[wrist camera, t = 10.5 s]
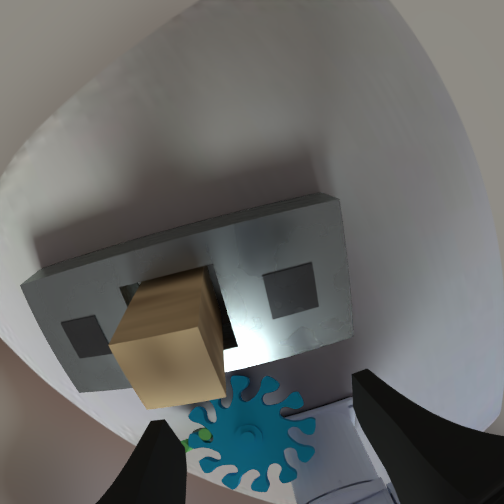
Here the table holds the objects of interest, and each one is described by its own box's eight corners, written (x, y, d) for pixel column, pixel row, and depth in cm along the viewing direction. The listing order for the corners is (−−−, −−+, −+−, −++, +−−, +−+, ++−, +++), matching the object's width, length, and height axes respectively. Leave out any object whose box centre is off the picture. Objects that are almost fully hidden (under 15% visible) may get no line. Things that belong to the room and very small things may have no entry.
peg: (221, 312, 20) (226, 396, 12) (166, 325, 20) (147, 409, 12) (204, 258, 18) (197, 326, 11) (146, 273, 18) (108, 345, 11)
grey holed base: (337, 314, 21) (354, 337, 18) (90, 368, 20) (78, 393, 17) (320, 192, 18) (339, 199, 15) (41, 268, 17) (19, 285, 14)
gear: (303, 361, 20) (327, 485, 16) (305, 364, 25) (324, 464, 21) (162, 383, 21) (184, 496, 17) (191, 384, 26) (208, 477, 22)
